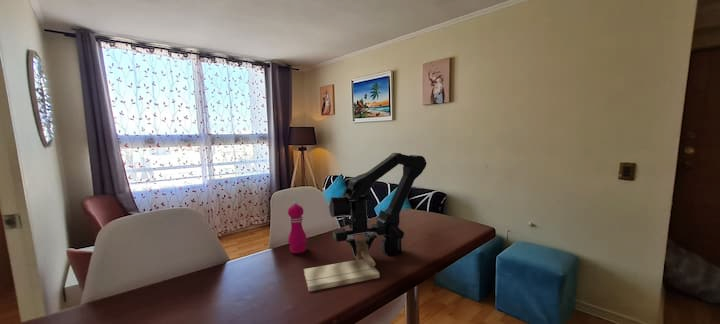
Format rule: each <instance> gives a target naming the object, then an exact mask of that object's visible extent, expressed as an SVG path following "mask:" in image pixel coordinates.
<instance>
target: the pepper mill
mask: <svg viewBox="0 0 720 324" xmlns="http://www.w3.org/2000/svg"><path fill="white" fill-rule="evenodd" d="M303 214H304V208H303V206H301V205H299V204H298V201H297V200H296V201H293V202H292V205H291V206H289V208H288V210H287V215H288V216H289V222H290V223H291V225H290V227H291V228H290V232H289V235H288V238H287V243H288V245H290V247H289V253H291V254H301V253H304V252H306V250H307V246H306V243H307V239H308V238H307V235H306V232H305V230H304V228H303V223H302V222H303V218H304V217H303Z"/></svg>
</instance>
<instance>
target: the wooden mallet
mask: <svg viewBox="0 0 720 324" xmlns="http://www.w3.org/2000/svg"><path fill="white" fill-rule="evenodd" d="M355 245H356V256H354V254H353V253H352V254H353V255H352V256H353V257H354V258H355V260H359V259H365V260H366V262H367V263H368V264H369V265H370V266H372V267H373V266H374V267H375V266H376V262H375V260H374V259H373V258H372V257H371V256H370V255H369V251H368V244H367V243H366V242H365V239H358V240H355Z"/></svg>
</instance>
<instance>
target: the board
mask: <svg viewBox="0 0 720 324" xmlns="http://www.w3.org/2000/svg"><path fill="white" fill-rule="evenodd" d="M303 275H304V278H305V281H306V286H307V289H308V290H307V291H308V292H309V293H310V292H314V291H320V290H325V289H329V288H334V287H339V286H345V285H349V284H354V283H360V282H365V281H369V280H374V279H375V280H376V279H379V278H380V276H381V275H380V272H379V271H378V269H377V268H376V267H375V266H373V267H372V266H370V265H369V264H368V263H367V262H366V260H365V259H359V260H356V259H354V260H349V261H343V262H337V263H332V264H326V265H320V266H315V267H309V268H303Z"/></svg>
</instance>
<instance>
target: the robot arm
mask: <svg viewBox="0 0 720 324" xmlns="http://www.w3.org/2000/svg"><path fill="white" fill-rule="evenodd" d="M398 165H402V176H401V178H400V181H399V182H398V185H397V188H396V190H395V192H394V194H393V196H392V198H391V201H390V203H389V205H388V207H387V208H386V209H385V210H382V209H380V212H378V213H379V214H378V216H377V218H376V223H372V224H371V225H370V227H368V220H369V217H368V212H367V211H368V207H367V201H371V200H373V198H372V197H371V196H370V195H369V194H368V191H370V190H371V189H372V187H373V186H374V184H375V182H376V181H378V180H379V179H380V178H382V177H383V176H385V175H386V174H388V173H389V172H390V171H392V170H393V169H394V168H396V167H397V166H398ZM426 167H427V160H426V158H425V157H424V156H423V155H416V154H415V155H414V154H410V155H406V154H403V153H401V152H392V153H391V154H390V155H389V156H388V157H386V158H385V159H383V160H382V161H381V162H379V163H378V164H376V165H375V166H374V167H373V168H371V169H369V170H368V171H367V172H364V173H362V174H359V175H356V176H354V177H352V178H350V179H349V181H348V183H347V187H346V189H345V190H344V192H343V194H342V196H332V197H330V200H329V201H330V202H329V206H328V208H329V215H330V217H331V218H336V217H342V216H343V217H342V223H343V226H344V227H345V226H347V227H348V229H350V230H346V229H345V228H344V227H343V228H336V229H334V230H333V232H332V234H333V235H332V237H333V239H334V240H335V242H336V243H337V242H346V243H349V245H350V248H351V252H352V254H354V256H356V245H355V241H356V240H355V239H354V236H358V235H364V241H365V242H366V243H367V244H368V252H369V251H370V249H371V246H372V244H373V242H374V240H375V239H377V238H378V236H382V240H381V251H382V252H383V253H384V254H386V256H395V255H400V254H404V253H405V252H404V250H402V239H403V238H404V235H405V232H404V231H403V230H401V228H400V227H399V225H400V221H401V220H400V217H401V216H400V213H401V210H402V209H403V207H404V205H405V202H406V200H407V198H408V195H409V193H410V191H411V188H412V187H413V185H414V182H415V180H416V179H417V178H418V177H419V176H420V175H422V173H423V172H424V170H425V168H426ZM349 214H350V217H349V216H348V215H349ZM376 234H377V235H378V236H377V235H376ZM354 256H353V257H354Z"/></svg>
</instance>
